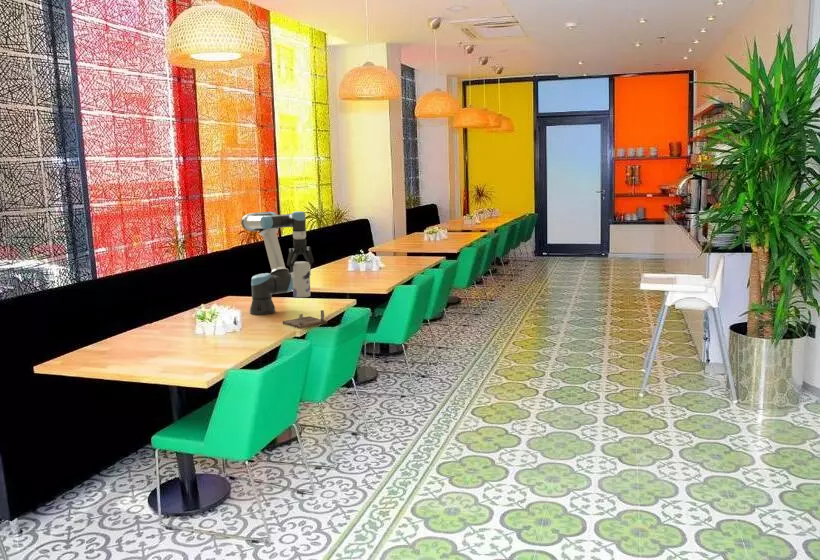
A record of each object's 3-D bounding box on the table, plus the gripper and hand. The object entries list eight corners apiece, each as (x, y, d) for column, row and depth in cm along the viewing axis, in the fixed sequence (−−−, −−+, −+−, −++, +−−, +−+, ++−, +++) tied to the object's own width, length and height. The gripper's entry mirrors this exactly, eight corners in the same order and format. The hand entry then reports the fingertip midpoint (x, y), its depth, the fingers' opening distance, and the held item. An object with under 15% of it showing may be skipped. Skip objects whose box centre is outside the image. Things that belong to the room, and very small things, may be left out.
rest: (282, 323, 414) (282, 310, 413) (309, 318, 425) (309, 306, 424) (299, 328, 400) (299, 315, 399) (327, 323, 412) (326, 310, 411)
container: (309, 297, 424) (307, 263, 421) (291, 297, 424) (290, 263, 421) (311, 294, 434) (310, 261, 431) (294, 294, 434) (293, 261, 431)
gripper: (286, 240, 413) (287, 279, 417) (319, 237, 428) (320, 274, 432) (279, 239, 419) (280, 277, 423) (312, 236, 433) (313, 273, 437)
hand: (301, 276), depth 427 cm, fingers closed on container, 10 cm apart
